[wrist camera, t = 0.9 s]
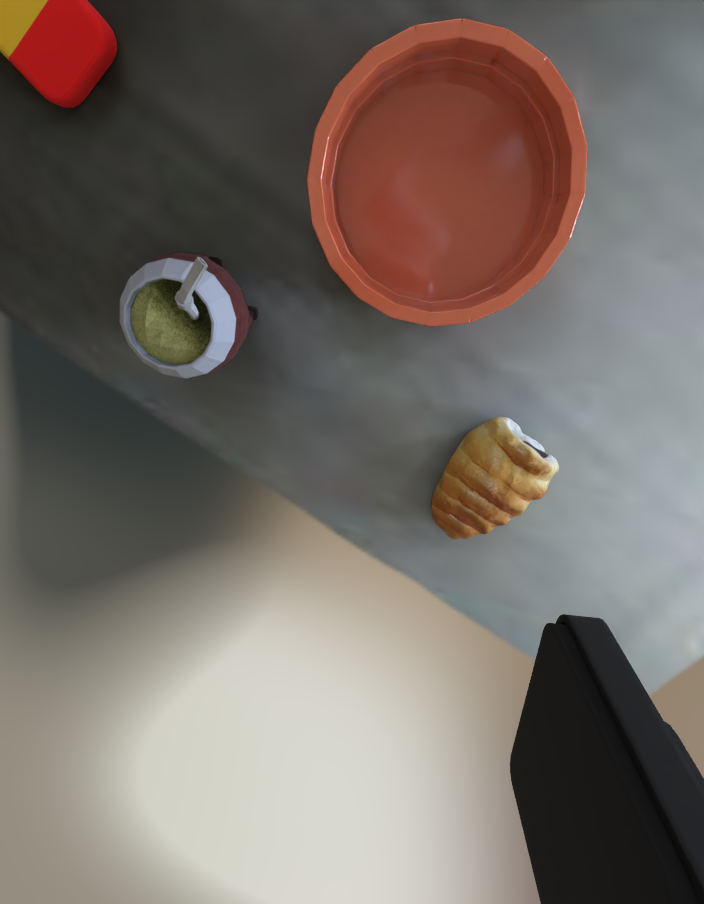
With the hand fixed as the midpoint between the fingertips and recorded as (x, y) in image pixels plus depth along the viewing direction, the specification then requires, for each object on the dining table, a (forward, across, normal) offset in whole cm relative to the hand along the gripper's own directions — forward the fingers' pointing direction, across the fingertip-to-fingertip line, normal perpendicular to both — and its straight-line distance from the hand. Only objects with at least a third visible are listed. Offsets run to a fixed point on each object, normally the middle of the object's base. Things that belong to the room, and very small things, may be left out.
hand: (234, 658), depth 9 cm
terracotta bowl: (+31, -5, -9) cm, 33 cm away
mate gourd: (+32, +9, -2) cm, 33 cm away
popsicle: (+32, +22, -18) cm, 42 cm away
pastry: (+32, -11, +9) cm, 35 cm away
